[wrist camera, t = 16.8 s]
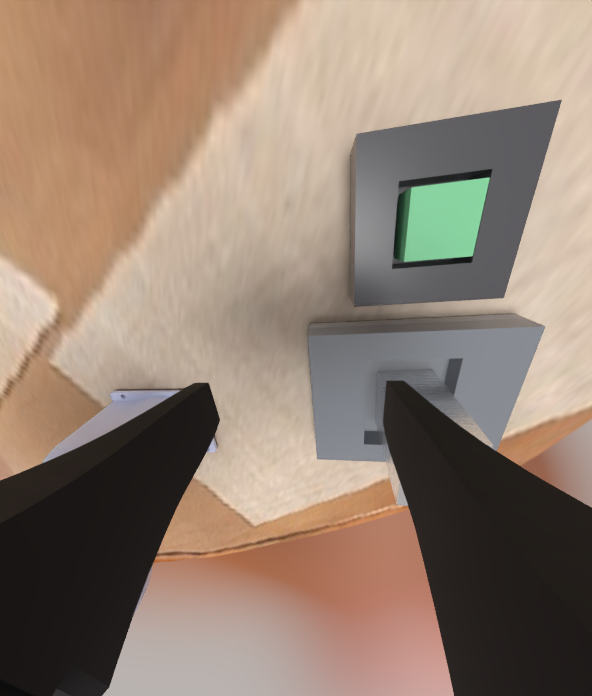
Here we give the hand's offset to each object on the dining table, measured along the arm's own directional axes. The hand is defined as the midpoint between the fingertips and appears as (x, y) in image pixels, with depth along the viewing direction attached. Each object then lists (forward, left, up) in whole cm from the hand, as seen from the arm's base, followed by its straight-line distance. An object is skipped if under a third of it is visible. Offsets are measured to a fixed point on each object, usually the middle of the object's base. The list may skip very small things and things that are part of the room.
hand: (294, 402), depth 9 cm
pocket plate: (+7, -6, -9) cm, 13 cm away
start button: (+7, +6, -8) cm, 12 cm away
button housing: (+7, +6, -9) cm, 13 cm away
